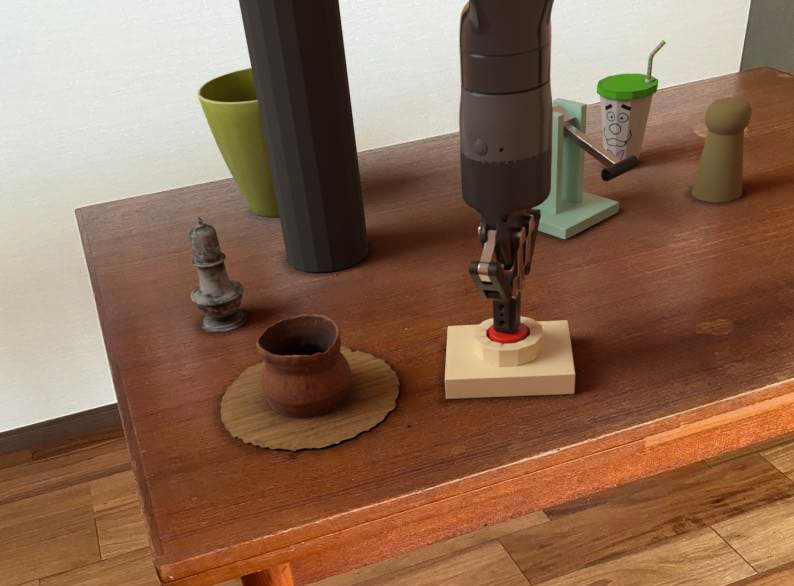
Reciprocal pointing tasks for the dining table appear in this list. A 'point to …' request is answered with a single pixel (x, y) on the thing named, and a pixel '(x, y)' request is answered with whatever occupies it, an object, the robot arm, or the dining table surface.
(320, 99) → the dark grey column
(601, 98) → the cup
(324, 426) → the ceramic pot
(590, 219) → the bracket
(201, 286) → the salt shaker
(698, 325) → the dining table surface
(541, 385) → the button block
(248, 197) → the flower pot
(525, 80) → the robot arm
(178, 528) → the dining table surface
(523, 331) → the button
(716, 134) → the olive pawn
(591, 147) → the lever
